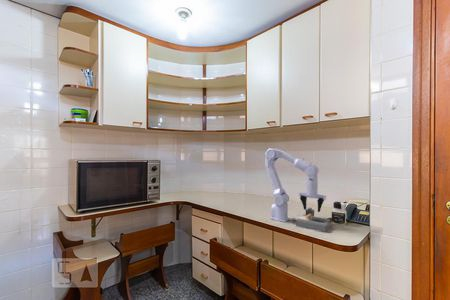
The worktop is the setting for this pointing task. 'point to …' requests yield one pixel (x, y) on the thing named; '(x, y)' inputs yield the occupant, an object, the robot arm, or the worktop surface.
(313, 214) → the plug
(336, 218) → the medicine bottle
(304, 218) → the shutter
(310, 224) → the socket
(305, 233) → the worktop surface
